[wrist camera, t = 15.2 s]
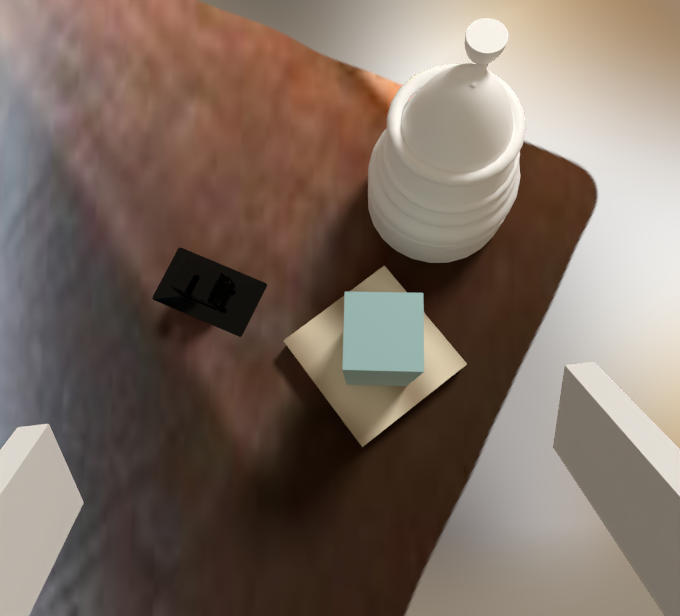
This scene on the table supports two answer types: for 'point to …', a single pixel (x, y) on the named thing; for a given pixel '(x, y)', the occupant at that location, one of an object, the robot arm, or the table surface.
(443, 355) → the base slab
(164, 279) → the black boxy piece
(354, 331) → the pillar block
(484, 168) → the honey pot
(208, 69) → the table surface
